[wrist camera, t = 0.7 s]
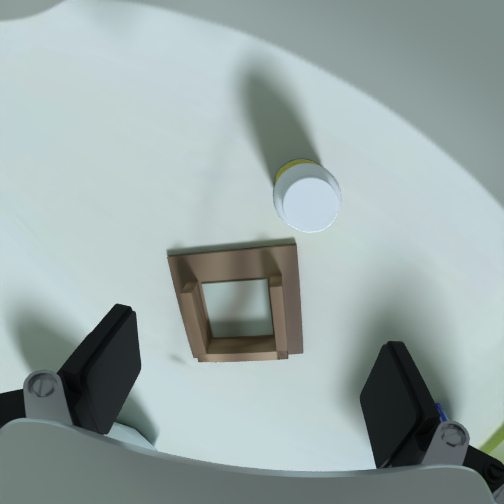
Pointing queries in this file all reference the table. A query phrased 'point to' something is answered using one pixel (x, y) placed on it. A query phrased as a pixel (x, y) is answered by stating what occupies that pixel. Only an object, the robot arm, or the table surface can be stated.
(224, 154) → the table surface
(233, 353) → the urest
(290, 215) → the supplement bottle
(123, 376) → the robot arm
